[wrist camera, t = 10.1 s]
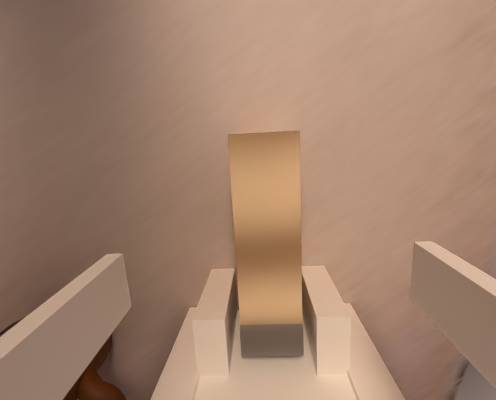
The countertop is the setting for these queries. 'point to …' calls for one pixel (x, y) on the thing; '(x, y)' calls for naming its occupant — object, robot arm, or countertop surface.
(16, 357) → the robot arm
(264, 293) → the wooden block
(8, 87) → the countertop surface
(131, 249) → the countertop surface
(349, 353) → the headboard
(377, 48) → the countertop surface
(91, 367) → the mug
